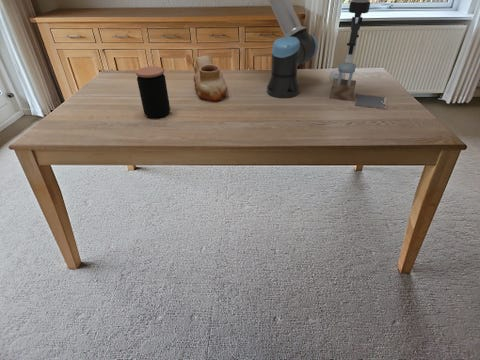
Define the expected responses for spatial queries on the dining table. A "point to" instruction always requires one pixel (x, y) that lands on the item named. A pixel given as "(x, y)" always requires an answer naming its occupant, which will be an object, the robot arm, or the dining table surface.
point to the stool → (346, 71)
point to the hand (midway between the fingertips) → (349, 57)
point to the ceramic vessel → (209, 80)
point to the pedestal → (342, 90)
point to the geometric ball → (335, 74)
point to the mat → (369, 101)
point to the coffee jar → (153, 92)
